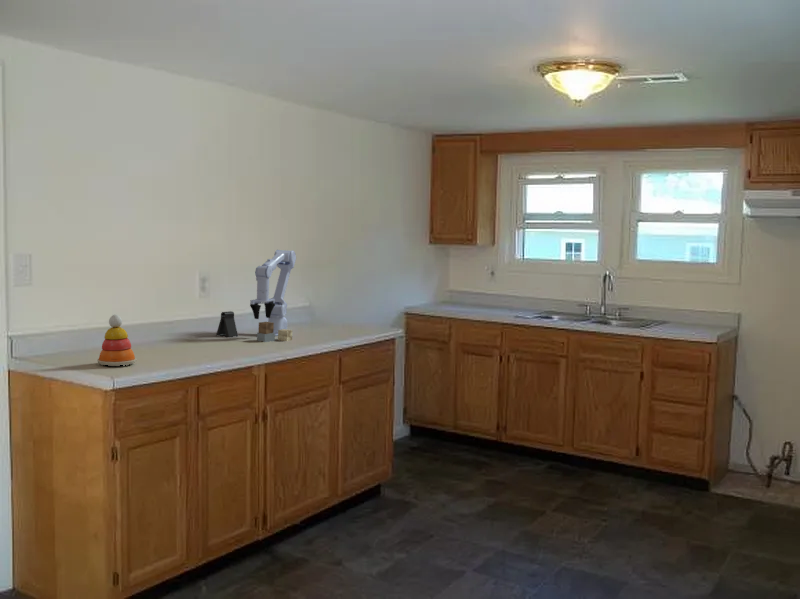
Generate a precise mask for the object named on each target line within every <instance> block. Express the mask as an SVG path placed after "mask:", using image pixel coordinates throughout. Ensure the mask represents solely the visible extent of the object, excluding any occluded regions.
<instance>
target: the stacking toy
mask: <svg viewBox="0 0 800 599" xmlns="http://www.w3.org/2000/svg"><path fill="white" fill-rule="evenodd" d="M122 324H123V320H122V317H121V316H120V315H118V314H112V315H111V316H110V317H109V319H108V325H109V326H111V327H110V328H108V329H107V330H106V332H105V334H104V340H103V342H102V344H101V349H102V350H101V351H100V352H99V357H98V358H97V363H98V364H99V365H101V366H103V365H108V366H107V367H121V366H120V365H126V366H129V364H130V365H133V364H135V363H136V362H137V358H136V357H135V352H134V351H133V349H132V344H131V341H130V339H129V336H128V332H127V331H126V330H125V329H124V328H123V327H121V326H122Z"/></svg>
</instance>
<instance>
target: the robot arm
mask: <svg viewBox="0 0 800 599" xmlns="http://www.w3.org/2000/svg"><path fill="white" fill-rule="evenodd" d="M273 254H274V255H273V256H272V258H267V260H266V261H265V262H264V263H263V264H261V265H258V266H257V267H256V268H255V271H254V272H255V279H256V280H255V281H256V298H255V299H251V300H250V304H249V307H250V308H251V310H252V313H253V317H254V319H255V320H259V318H260V310H261V307H262V305H261V304H264V314H265V318H267V319H268V320H267V322H272V323H274V330H273V333H275V337H276V336H277V337H278V330H282V329H287V330H288V319H287V318H286V315H287V313H288V312H287V310H288V308H287V307H288V303H287V302H286V300H285V299H284V298H285V295H286V294H285V293H286V290H287V287H288V284H289V280H290V275H291V271H292V269H294V268H295V265H296V264H295V263H296V260H297V256H296V252H295V250H288V249H287V250H286V249H285V250H284V249H283V250H282V249H276V250H274V253H273ZM277 268H278V269H280V271H279V275H278V279H277V284H276V286H275V291H274V293H273V297H272V298H270V296H269V295H270V278H271V276H272V275H273V272H274V271H275V270H276V269H277Z"/></svg>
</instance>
